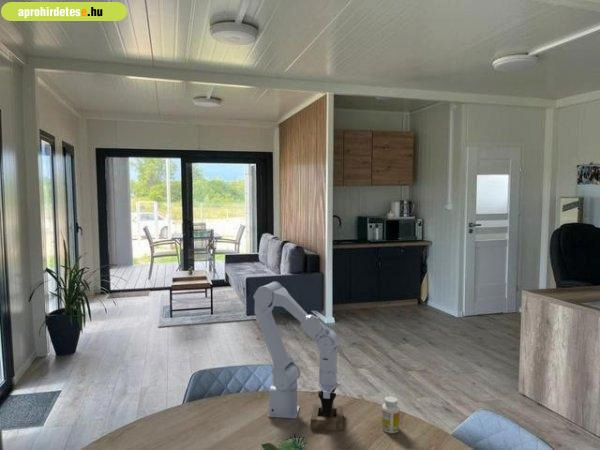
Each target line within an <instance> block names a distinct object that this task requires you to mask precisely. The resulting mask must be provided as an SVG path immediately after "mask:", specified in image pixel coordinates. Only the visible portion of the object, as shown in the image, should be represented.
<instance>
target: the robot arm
mask: <svg viewBox="0 0 600 450" xmlns="http://www.w3.org/2000/svg"><path fill="white" fill-rule="evenodd" d="M253 299H254V308H253V309H254V311H253V312H254V315H255V318H256V321H257V324H258V326H259V329H260V331H261V334H262V336H263V339H264V340H263V341H264V342H265V344H266V347H267V349H268V353H269V355H270V357H271V360H272V364H271V370H270V371H271V374H272V383H273V385H270V387H269V393H268V417H270V418H280V419H281V418H284V419H286V418H287V419H297V418H298V415H299V411H300V405H298V379H300V377H301V370H300V367H299V366H298V365H297V364H296V363H295V361H294V358H293V357H292V356H289V355H288V352H287V349H286V347H285V344H284V341H283V339H282V336H281V334H280V332H279V331H280V330H279V328H278V326H277V323H276V321H275V319H274V315H273V312H272V311H273V309H274V307H282V308H284V309H285V310H286V311H287V312H288V313H289V314H290V315H292V316H293V317H294V318H295V319H297V320H298V322H299V323H300V328H301V329H302V330H303V331H304V332H305V333H306V334H307V335H308V336H309V337H310V338H311V339H312V340H313V341H314V342H315V343H316V347H317V350H318V351H319V352H318V353H319V356H318V387H319V389H320V390H319V391H318V393H317V394H318V398H319V399H320V404H321V403H322V408H323V412H324V414H330V413H331V409H332V404H333V401H334V400H335V399H336V396H337V393H336V392H335V391H336V389H337V388H338V387H340V386H341V381H337V378H338V377H337V375H338V373H337V372H338V348H337V346H338V345H339V343H340V335H339V334H338V332H336V330H334V329H330V328H329V327H328V326H326V325H325V324H324V323H322V322H321V320H320V317H319V316H318V315H316V316H315V315H314V314H308V313H307V312H306V311H305V309H304V308H303V307H302V306H300V304H299V303H298V302H297V301H296V300H295V299H294V298H293V296H291V294H290V293H289V292H288V290H287V289H286V288H285V287H284V286H282V284H281V283H280V282H278V281H272V282H269V283H268V284H265V285H262V286H259V287H258V288H257V289H256V291H255V292H254V294H253ZM332 391H334V393H331V392H332ZM334 402H335V401H334Z"/></svg>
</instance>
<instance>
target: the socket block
mask: <svg viewBox="0 0 600 450" xmlns="http://www.w3.org/2000/svg"><path fill="white" fill-rule="evenodd" d="M311 410H312V411H311V415H310V429H315V430H325V431H327V430H328V431H339V432H340V431H341V432H342V431H343V426H344V423H343V422H344V420H343V419H344V406H343V405H335V404H334V416H333V417H321V403H313V404H312V408H311Z"/></svg>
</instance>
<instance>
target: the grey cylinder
mask: <svg viewBox="0 0 600 450" xmlns="http://www.w3.org/2000/svg"><path fill="white" fill-rule="evenodd" d="M331 393H335V392H334V391H332V392H331ZM334 402H335V401H333V404H332V409H331V413H330V414H324V412H323V408H322V403H321V402H320V405H321V417H333V416H334V405H335V404H334Z"/></svg>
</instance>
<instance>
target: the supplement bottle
mask: <svg viewBox="0 0 600 450" xmlns="http://www.w3.org/2000/svg"><path fill="white" fill-rule="evenodd" d="M400 410H401V409H400V406H399V405H398V398H397V397H394V396H391V395H390V396H386V397H384V403H383V404H382V405H381V429H382V430H383V431H384V432H386V433H388V434H396V433H398V432H399V431H400Z"/></svg>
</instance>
